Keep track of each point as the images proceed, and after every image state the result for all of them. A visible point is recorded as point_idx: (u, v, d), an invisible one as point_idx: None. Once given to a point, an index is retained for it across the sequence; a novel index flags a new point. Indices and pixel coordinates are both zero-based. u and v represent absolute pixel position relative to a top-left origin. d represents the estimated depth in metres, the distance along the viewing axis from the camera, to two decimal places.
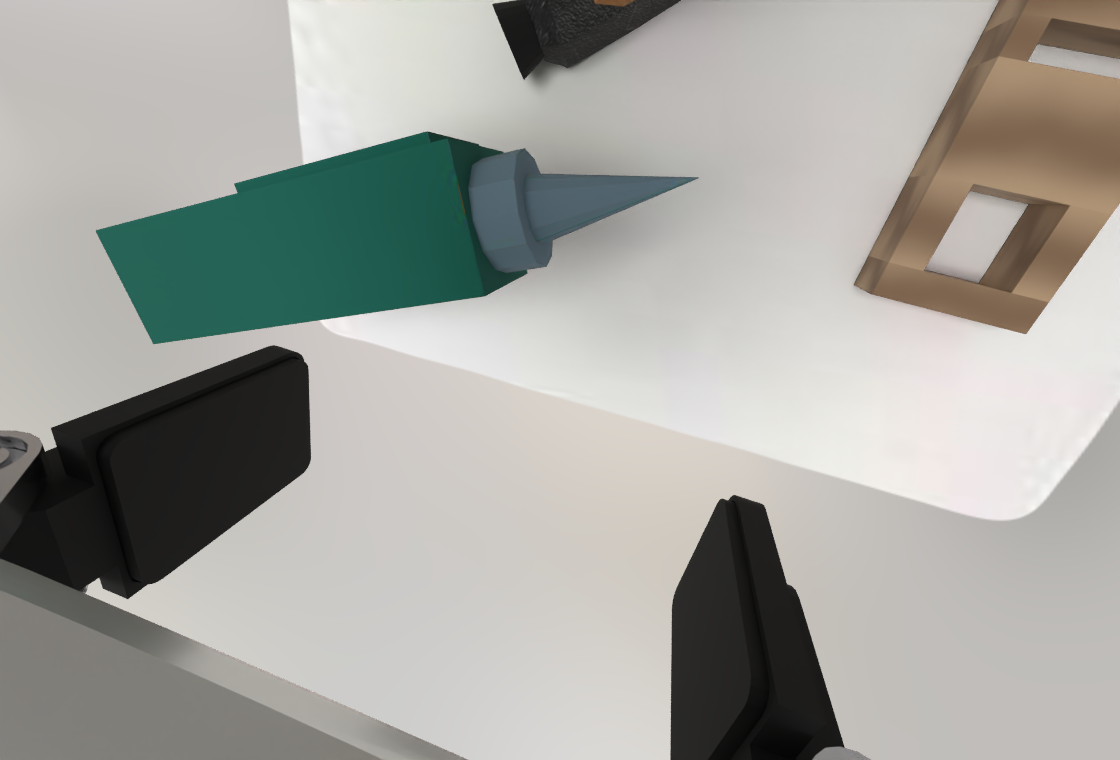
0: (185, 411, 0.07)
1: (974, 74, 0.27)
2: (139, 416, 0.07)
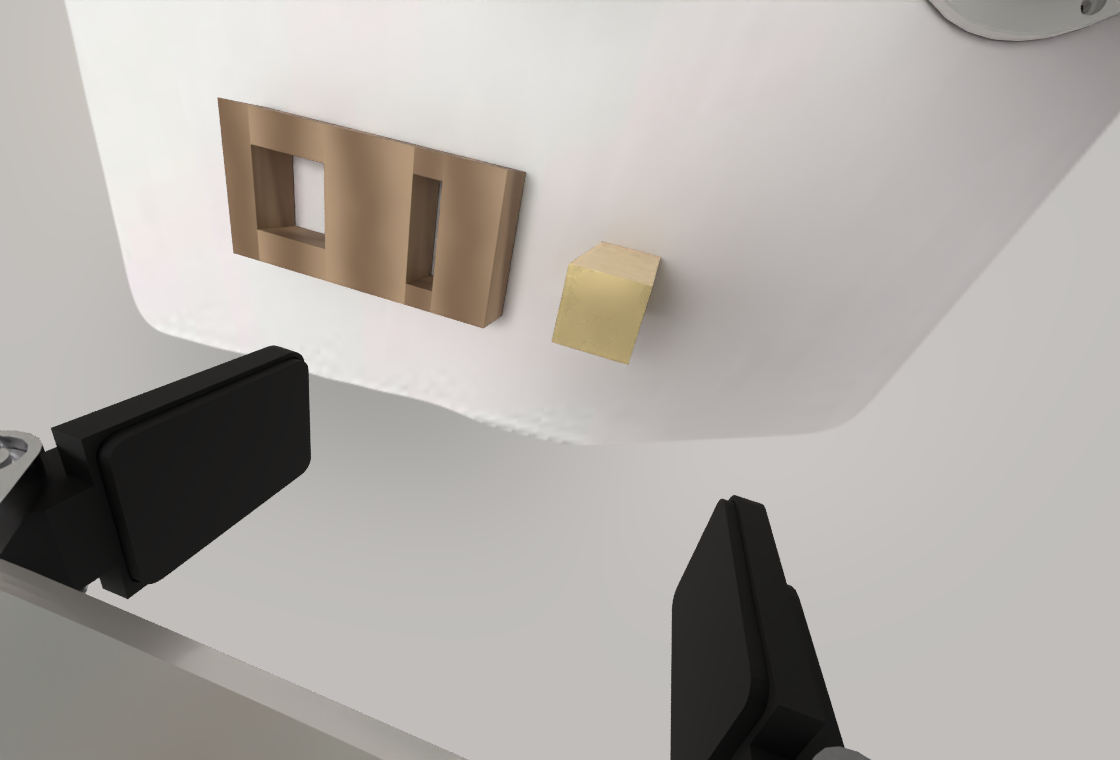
0: (185, 411, 0.07)
1: (421, 147, 0.28)
2: (138, 416, 0.07)
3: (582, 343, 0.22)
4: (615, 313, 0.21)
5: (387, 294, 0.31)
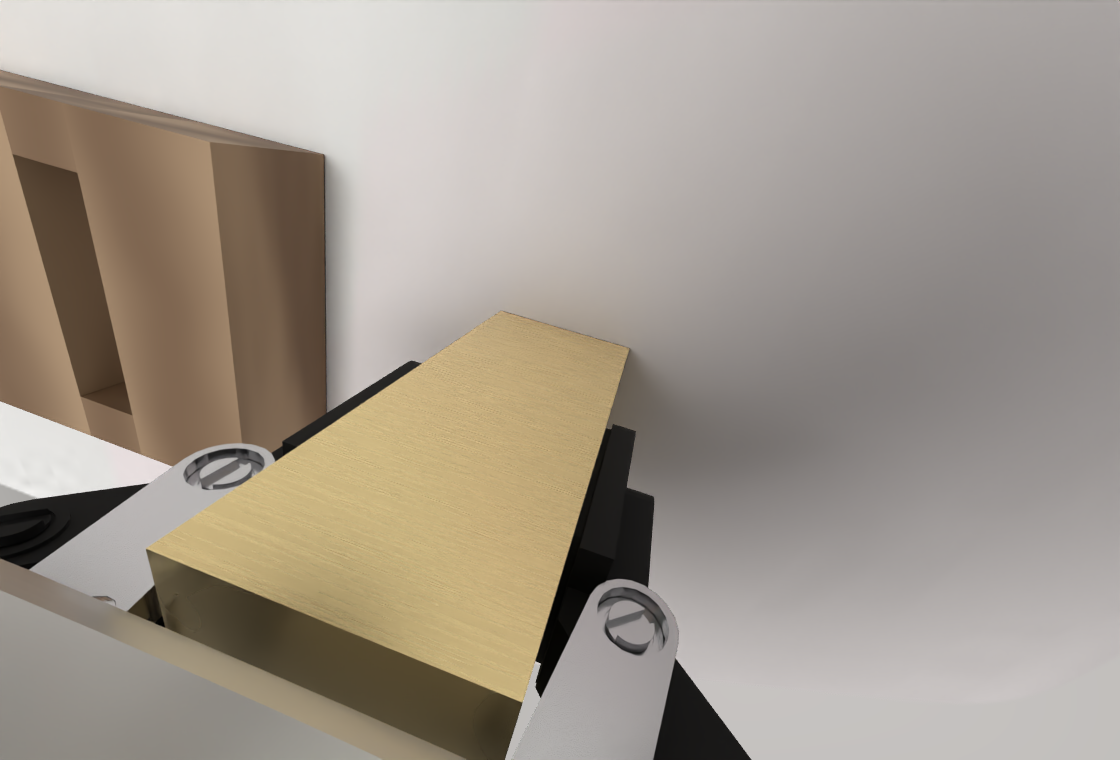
0: None
1: (66, 94, 0.12)
2: None
3: None
4: None
5: (56, 414, 0.15)
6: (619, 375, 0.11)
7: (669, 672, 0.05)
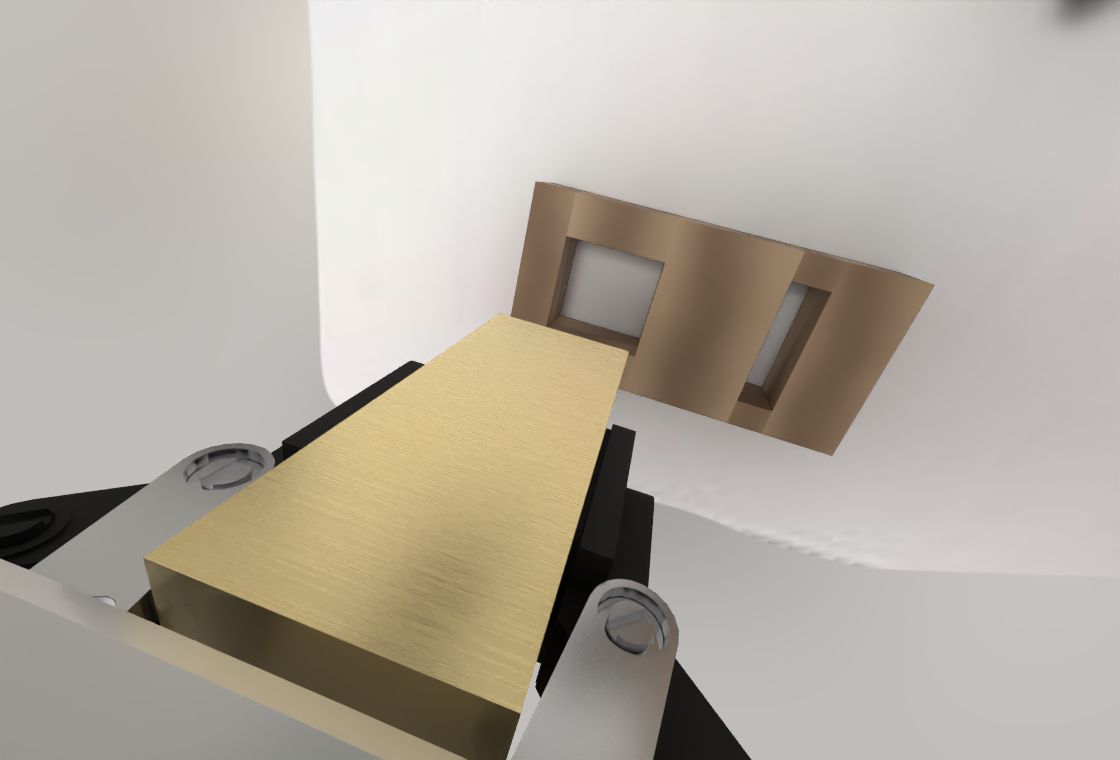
0: None
1: (786, 244, 0.23)
2: None
3: None
4: None
5: (706, 410, 0.26)
6: (618, 379, 0.11)
7: (669, 672, 0.05)
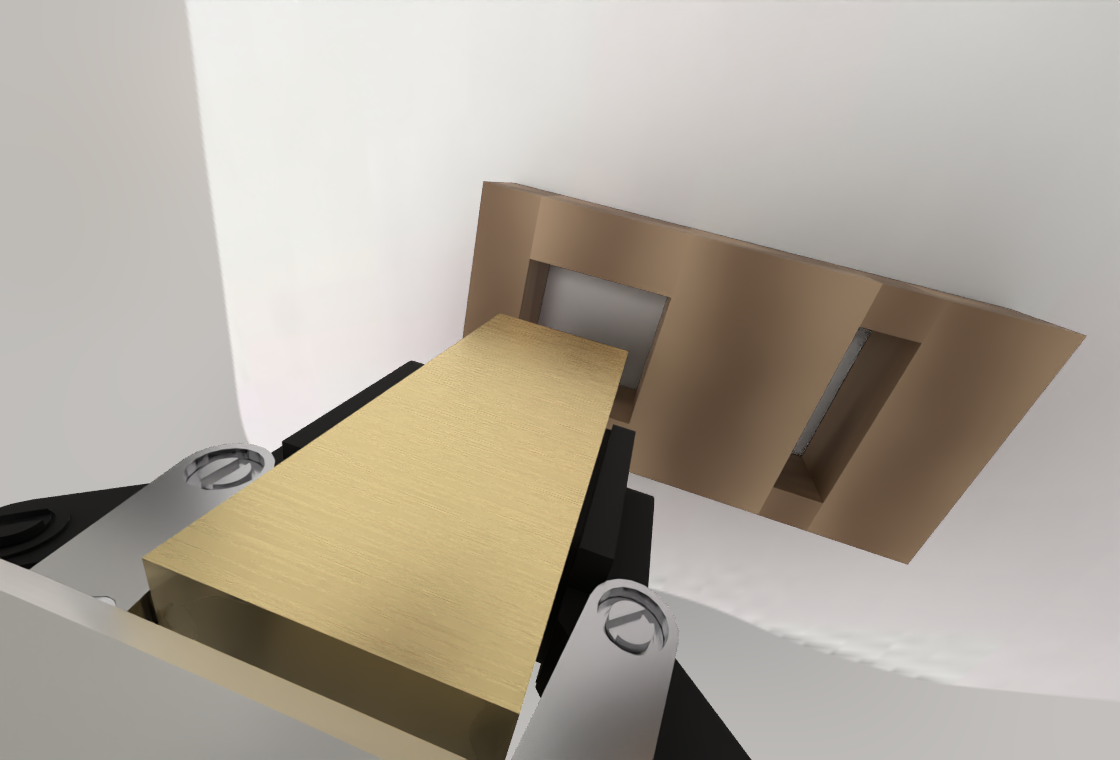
0: None
1: (848, 270, 0.16)
2: None
3: None
4: None
5: (729, 497, 0.19)
6: (618, 379, 0.11)
7: (669, 672, 0.05)
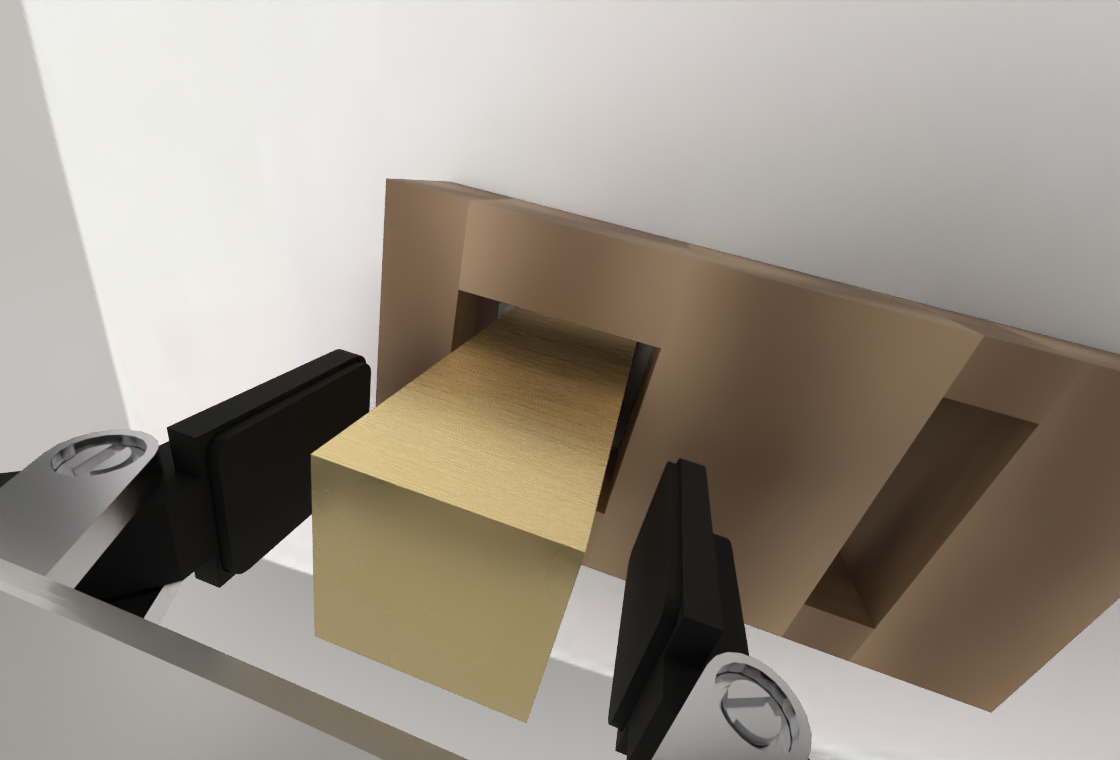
0: (276, 411, 0.08)
1: (918, 309, 0.11)
2: (239, 415, 0.07)
3: (394, 654, 0.08)
4: (473, 603, 0.07)
5: (742, 613, 0.14)
6: (632, 353, 0.13)
7: None
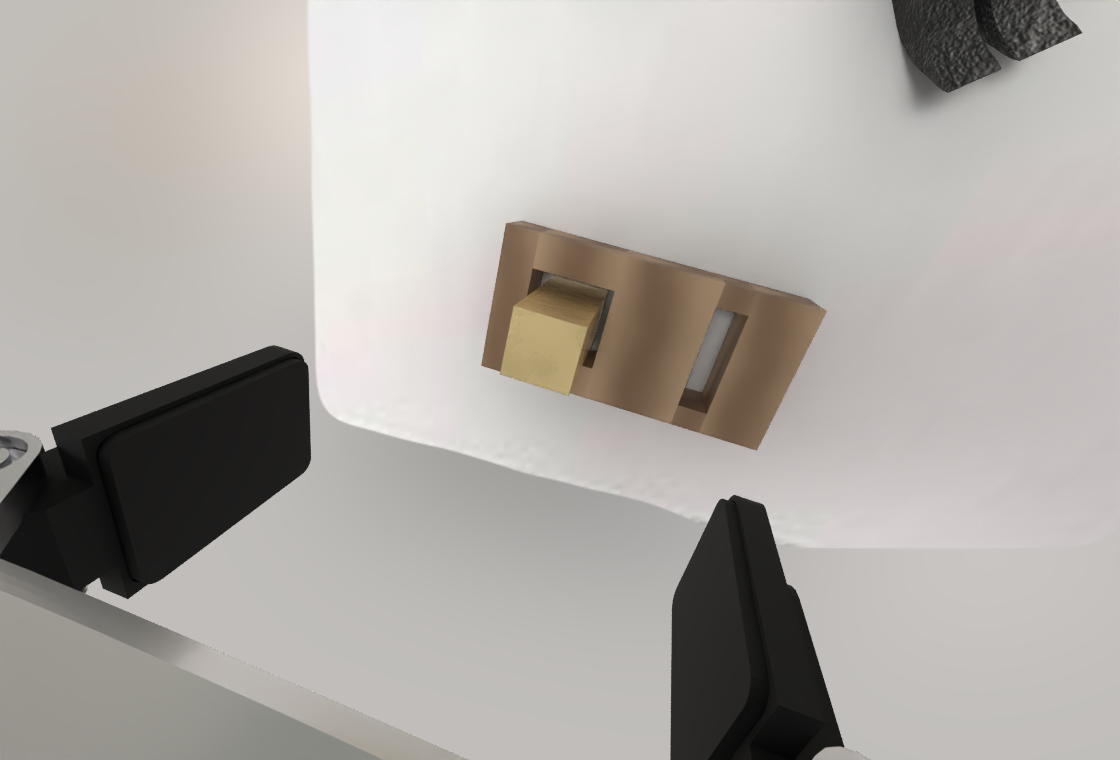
0: (185, 411, 0.07)
1: (714, 276, 0.28)
2: (139, 415, 0.07)
3: (527, 376, 0.24)
4: (555, 350, 0.24)
5: (653, 413, 0.31)
6: (604, 296, 0.30)
7: None
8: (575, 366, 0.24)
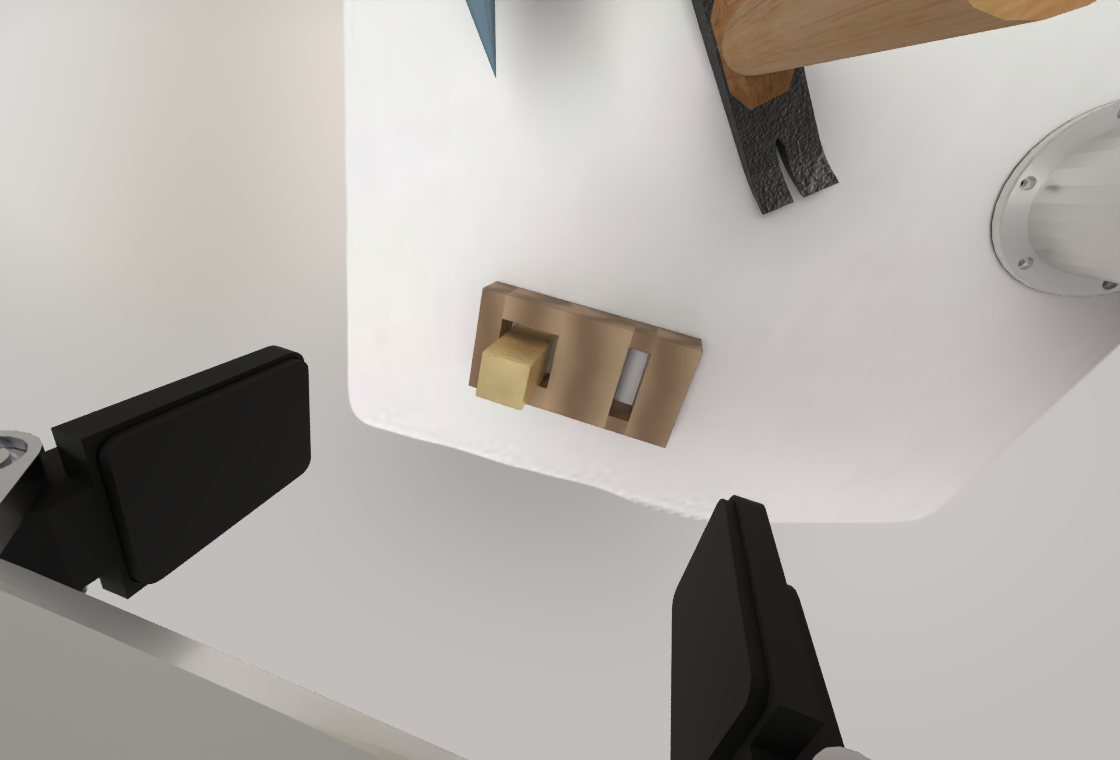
0: (185, 411, 0.07)
1: (629, 324, 0.40)
2: (139, 416, 0.07)
3: (493, 397, 0.36)
4: (510, 380, 0.35)
5: (591, 421, 0.43)
6: (554, 337, 0.42)
7: None
8: (524, 391, 0.36)
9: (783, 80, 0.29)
